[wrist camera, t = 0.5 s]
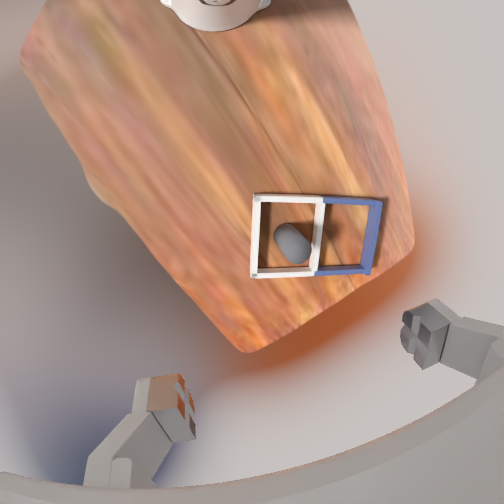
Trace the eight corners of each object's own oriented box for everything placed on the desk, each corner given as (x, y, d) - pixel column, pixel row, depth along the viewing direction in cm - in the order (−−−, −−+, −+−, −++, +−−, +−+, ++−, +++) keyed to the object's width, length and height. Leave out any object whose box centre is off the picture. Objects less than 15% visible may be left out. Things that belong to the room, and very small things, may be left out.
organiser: (253, 193, 51) (256, 197, 49) (374, 198, 55) (382, 202, 53) (249, 273, 57) (252, 281, 54) (363, 269, 61) (370, 275, 58)
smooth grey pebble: (274, 223, 54) (286, 237, 47) (298, 223, 55) (313, 237, 47) (272, 246, 56) (284, 264, 48) (295, 246, 56) (310, 263, 49)
